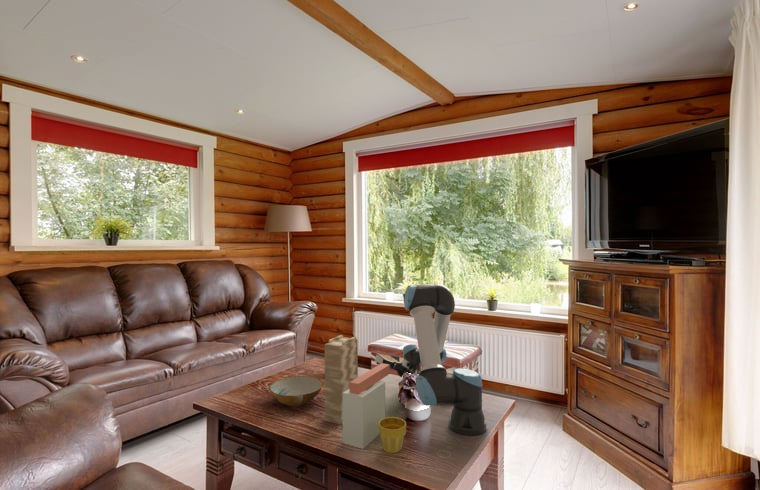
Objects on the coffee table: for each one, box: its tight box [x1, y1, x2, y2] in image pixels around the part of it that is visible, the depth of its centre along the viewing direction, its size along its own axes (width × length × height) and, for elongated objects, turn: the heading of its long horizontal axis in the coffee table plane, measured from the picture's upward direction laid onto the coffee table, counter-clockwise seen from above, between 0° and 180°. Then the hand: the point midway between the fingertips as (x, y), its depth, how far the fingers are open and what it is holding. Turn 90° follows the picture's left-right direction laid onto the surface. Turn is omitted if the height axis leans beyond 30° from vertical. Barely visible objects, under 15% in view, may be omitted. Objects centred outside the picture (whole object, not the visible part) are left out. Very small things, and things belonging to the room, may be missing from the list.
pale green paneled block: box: [342, 380, 386, 450], centre depth 160 cm, size 18×9×20 cm, turn 151°
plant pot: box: [379, 416, 407, 454], centre depth 150 cm, size 10×10×10 cm
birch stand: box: [323, 334, 359, 426], centre depth 178 cm, size 15×9×34 cm, turn 151°
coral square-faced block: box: [349, 363, 391, 394], centre depth 164 cm, size 26×4×4 cm, turn 151°
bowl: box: [268, 375, 324, 407], centre depth 193 cm, size 25×25×8 cm
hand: (389, 359), depth 179 cm, fingers open, 13 cm apart
